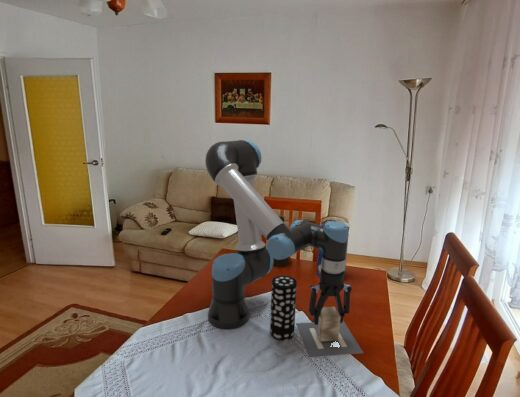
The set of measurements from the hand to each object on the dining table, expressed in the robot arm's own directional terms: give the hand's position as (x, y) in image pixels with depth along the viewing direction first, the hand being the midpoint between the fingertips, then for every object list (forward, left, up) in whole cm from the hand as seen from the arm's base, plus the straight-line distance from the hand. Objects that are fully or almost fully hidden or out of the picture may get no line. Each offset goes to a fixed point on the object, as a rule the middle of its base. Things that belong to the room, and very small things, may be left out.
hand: (327, 331), depth 118 cm
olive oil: (-5, +61, -3) cm, 61 cm away
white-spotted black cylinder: (-15, +4, -3) cm, 16 cm away
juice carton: (+17, +46, -3) cm, 49 cm away
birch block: (0, 0, -2) cm, 2 cm away
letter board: (0, 0, -2) cm, 3 cm away
